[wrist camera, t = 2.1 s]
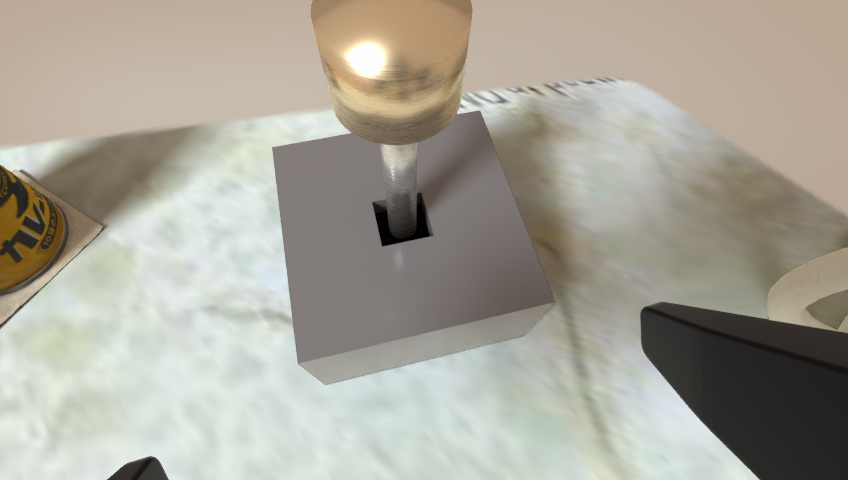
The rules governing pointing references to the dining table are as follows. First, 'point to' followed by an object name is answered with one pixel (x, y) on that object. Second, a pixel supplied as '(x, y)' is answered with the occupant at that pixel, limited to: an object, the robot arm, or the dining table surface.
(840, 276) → the pitcher
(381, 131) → the plunger
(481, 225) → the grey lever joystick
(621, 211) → the dining table surface
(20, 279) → the condiment
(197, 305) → the dining table surface
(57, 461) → the dining table surface
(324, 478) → the dining table surface
